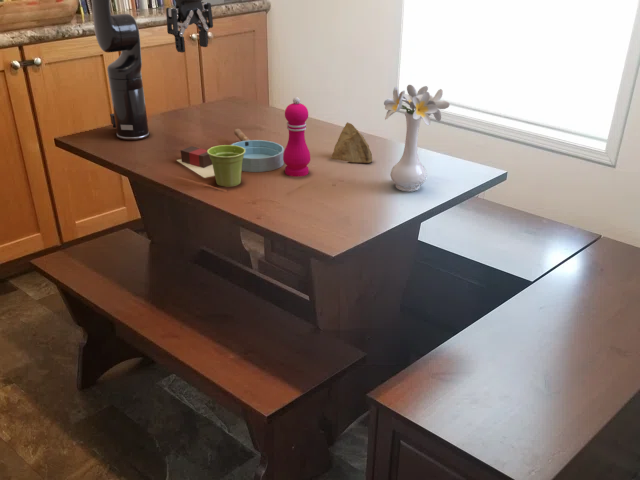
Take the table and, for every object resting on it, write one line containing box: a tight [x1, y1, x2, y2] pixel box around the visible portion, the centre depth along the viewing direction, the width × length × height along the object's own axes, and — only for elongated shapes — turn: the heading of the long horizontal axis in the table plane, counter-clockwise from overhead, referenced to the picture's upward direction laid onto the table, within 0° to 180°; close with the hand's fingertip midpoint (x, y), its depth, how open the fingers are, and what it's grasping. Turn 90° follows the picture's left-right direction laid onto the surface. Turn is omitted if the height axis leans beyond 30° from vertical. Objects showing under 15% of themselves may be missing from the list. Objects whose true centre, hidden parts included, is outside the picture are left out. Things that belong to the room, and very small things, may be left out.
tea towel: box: [176, 158, 215, 179], centre depth 185 cm, size 16×9×1 cm, turn 37°
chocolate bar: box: [180, 145, 212, 168], centre depth 186 cm, size 8×4×3 cm, turn 57°
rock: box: [331, 122, 373, 164], centre depth 191 cm, size 11×9×10 cm
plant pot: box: [206, 144, 245, 188], centre depth 174 cm, size 9×9×9 cm
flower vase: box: [383, 84, 450, 193], centre depth 171 cm, size 13×18×25 cm
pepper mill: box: [283, 96, 311, 178], centre depth 178 cm, size 7×7×20 cm
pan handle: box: [233, 128, 251, 146], centre depth 197 cm, size 12×2×2 cm, turn 22°
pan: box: [230, 139, 285, 173], centre depth 188 cm, size 15×16×4 cm
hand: (192, 49), depth 178 cm, fingers open, 8 cm apart
